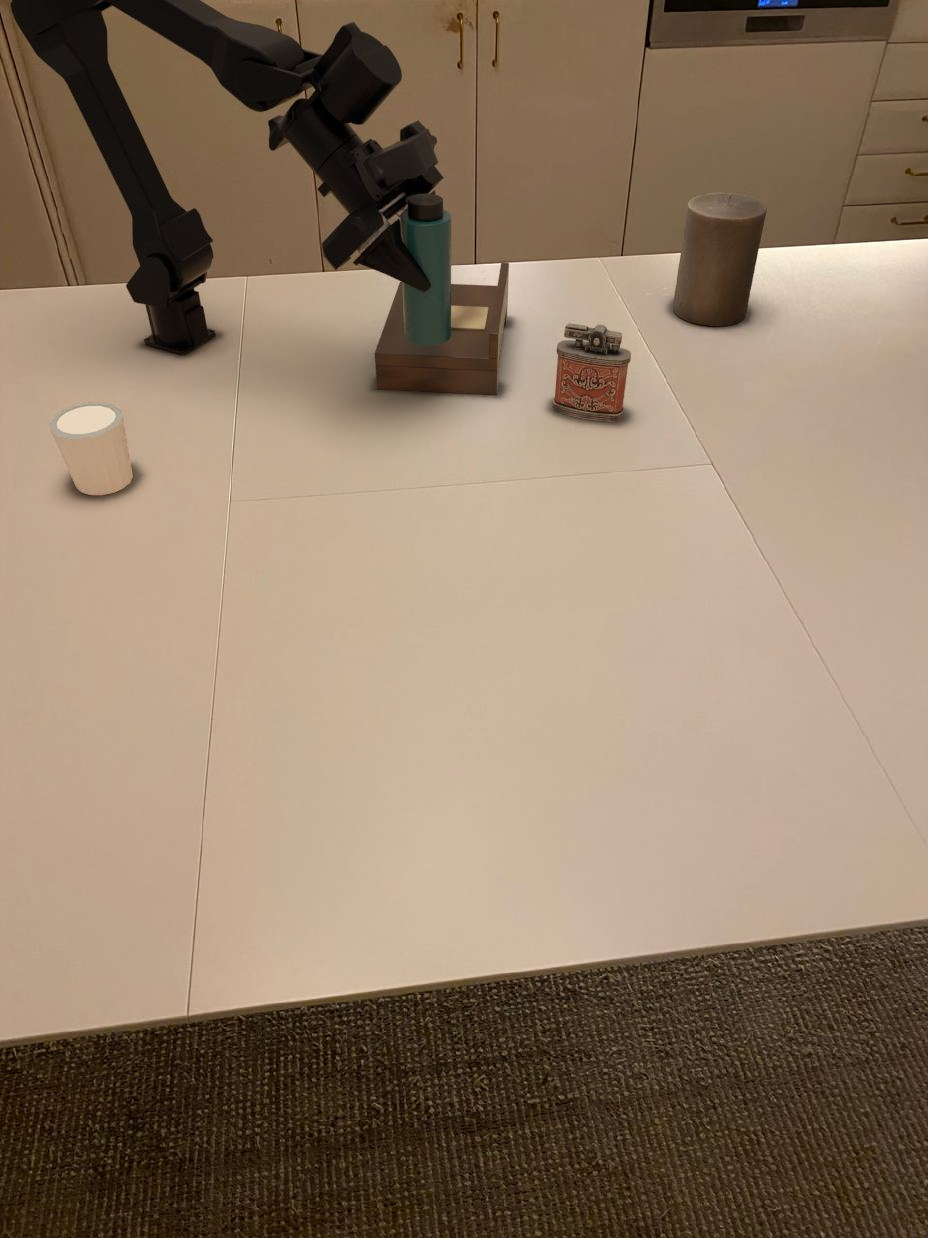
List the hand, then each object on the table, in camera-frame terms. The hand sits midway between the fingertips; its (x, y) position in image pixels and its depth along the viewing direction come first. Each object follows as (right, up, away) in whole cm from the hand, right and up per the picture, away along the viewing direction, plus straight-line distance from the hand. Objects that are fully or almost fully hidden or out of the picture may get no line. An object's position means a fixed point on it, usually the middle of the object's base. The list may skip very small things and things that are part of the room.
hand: (438, 279), depth 101 cm
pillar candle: (+35, +5, +26) cm, 44 cm away
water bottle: (-1, -4, +5) cm, 7 cm away
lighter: (+17, -13, +6) cm, 22 cm away
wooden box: (0, -3, +17) cm, 17 cm away
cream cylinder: (-34, -22, -4) cm, 41 cm away
